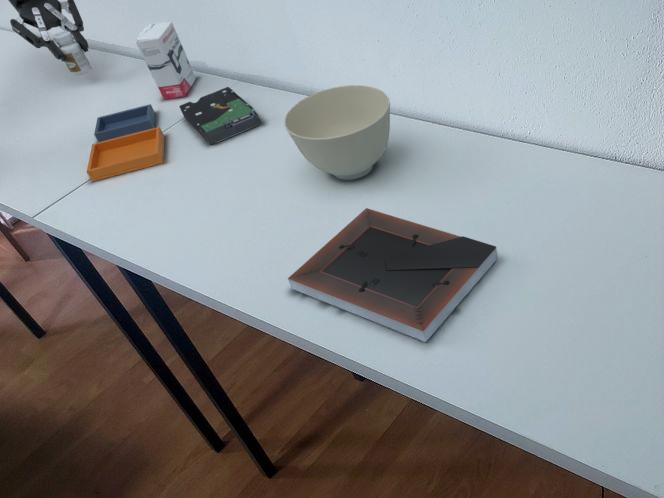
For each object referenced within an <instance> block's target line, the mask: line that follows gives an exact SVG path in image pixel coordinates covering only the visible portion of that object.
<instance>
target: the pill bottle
mask: <svg viewBox="0 0 664 498" xmlns="http://www.w3.org/2000/svg"><path fill="white" fill-rule="evenodd" d="M52 37H53V41H54V42H55V44H56V45H57V46H58V47H59V49H60V50H61V51H62V52H63V54H64V55H65V58H66V60H65V61H63V62H64V64H65V65H66V67H67V69H68V71H69V73H70V74H71V75H72V76H81V75H85V74H88V73H89V72H90V71H91V70H92V65H91V63H90V61H89V59H88V57H87V56H86V54H85V52H84V51H83V50H82V48H81V46H80V45H79V43H77V42H76V41H75V40H74V38H73V36H72V35H71V33H70V32H69V31H60V32H58V33H55V34H54V35H53V36H52Z"/></svg>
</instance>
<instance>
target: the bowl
mask: <svg viewBox="0 0 664 498" xmlns="http://www.w3.org/2000/svg"><path fill="white" fill-rule="evenodd" d="M283 123H284V127H285V130H286V131H287V133H288V135H289V136H290V138H291V139H292V141H293V142H294V144H295V146H296V147H297V148H298V150H299V152H300V153H301V154H302V156H303V157H304V158H305V159H306V160H307V161H308V163H309V164H311V165H312V166H313V167H315V168H316V169H318V170H320V171H322V172H324V173H327V174H330V175H334V176H335V177H336V178H337V179H340V180H343V181H351V180H358V179H360V178H364V177H365V176H366V175H368V174H369V173H370V172H371V171H372V169H373V168H374V164H376V163H377V162H378V161H379V160H380V158H381V157H382V156H383V155H384V153H385V151H386V149H387V146H388V143H389V139H390V131H391V130H390V129H391V102H390V98H389V96H388V94H387V93H385V92H384V91H382V90H381V89H379V88H376V87H373V86H369V85H359V84H358V85H357V84H356V85H355V84H354V85H352V84H351V85H342V86H337V87H331V88H327V89H324V90H320V91H318V92H315V93H313V94H310V95H308V96H307V97H304V98H302V99H301V100H300V101H298V102H297V103H295V104H294V105H293V106H291V108H290V109H289V110H288V111H287V113H286V115H285V116H284V121H283Z"/></svg>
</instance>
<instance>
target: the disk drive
mask: <svg viewBox="0 0 664 498" xmlns="http://www.w3.org/2000/svg"><path fill="white" fill-rule="evenodd" d="M179 109H180V112H181V113H182V116H183V118H184V119H185V120H186V121H187V122H188V123H189V125H191V127H193V128H194V129H195V131H196V132H197V133H198V134H199V135H200V136H201V137H202V138H203V140H205V141H206V142H207V144H209V145H212V144H216V143H219V142H221V141H224V140H225V139H229V138H231V137H234V136H235V135H238V134H240V133H243V132H245V131H247V130H250V129H252V128H254V127H257V126H259V125H260V124H262V122H261V119H260V116H259V113H257V112H256V110H255V109H254V107H253V106H251V105H250V104H249V103H248V102H247V101H246V100H244V99H243V97H241V96H240V95H239V94H237V93H236V92H235V91H234V89H232V88H230V87H229V86H226V87H224V88H222V89H219V90H218V91H217V90H216V91H214V92H212V93H208V94H206V95H204V96H201V97H199V99H198V100H197V101H196V102H192V101H188V102H185V103H183V104H180V105H179Z"/></svg>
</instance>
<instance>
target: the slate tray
mask: <svg viewBox="0 0 664 498" xmlns="http://www.w3.org/2000/svg"><path fill="white" fill-rule="evenodd" d="M155 125H156V112H155V110H154V108H153V106H152V104H149V103H148V104H145V105H142V106H141V105H140V106H138V107H135V108H130V109H126V110H121V111H118V112H114V113H110V114H105V115H103V116H102V115H101V116H98V117H97V118H96V123H95V128H94V133H93V136H94V137H95V138H96V140H97V143H98V142H102V141H106V140H110V139H114V138H118V137H121V136H125V135H129V134H133V133H137V132H141V131H145V130H149V129H153V128H156V127H155Z"/></svg>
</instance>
